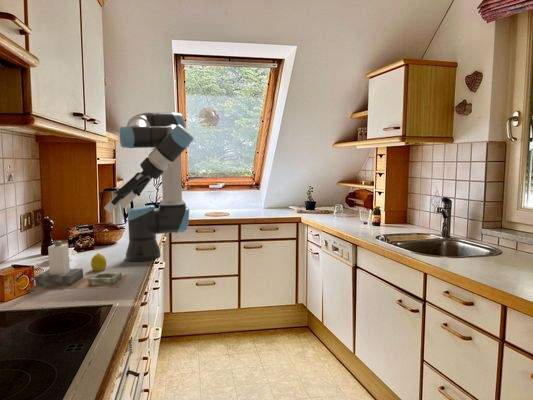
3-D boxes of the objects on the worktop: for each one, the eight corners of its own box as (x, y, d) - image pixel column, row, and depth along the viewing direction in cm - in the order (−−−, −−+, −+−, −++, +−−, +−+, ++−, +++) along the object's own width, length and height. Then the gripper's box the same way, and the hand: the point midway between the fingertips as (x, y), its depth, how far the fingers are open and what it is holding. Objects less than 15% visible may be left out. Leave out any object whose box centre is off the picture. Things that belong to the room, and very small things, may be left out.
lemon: (99, 276, 161) (98, 255, 160) (88, 274, 163) (87, 254, 162) (109, 272, 166) (108, 252, 165) (99, 271, 168) (97, 251, 167)
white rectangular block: (70, 280, 150) (67, 240, 149) (65, 283, 146) (62, 242, 145) (56, 280, 150) (53, 240, 149) (50, 283, 146) (47, 242, 145)
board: (132, 278, 156) (132, 264, 156) (117, 292, 140) (116, 276, 140) (52, 280, 156) (51, 266, 156) (27, 293, 140) (26, 278, 140)
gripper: (154, 172, 132) (108, 220, 134) (172, 170, 157) (134, 211, 158) (136, 156, 131) (91, 204, 133) (157, 156, 156) (119, 197, 158)
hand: (114, 208), depth 146 cm, fingers open, 13 cm apart
